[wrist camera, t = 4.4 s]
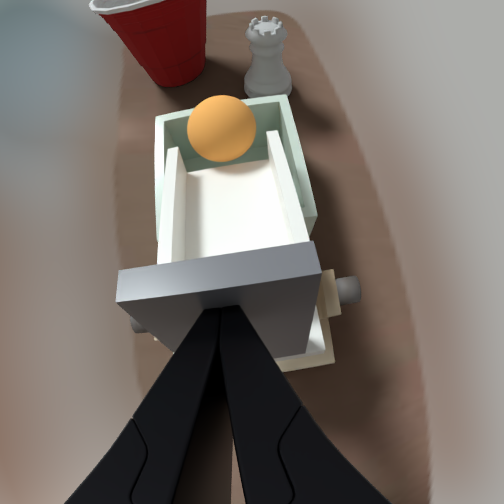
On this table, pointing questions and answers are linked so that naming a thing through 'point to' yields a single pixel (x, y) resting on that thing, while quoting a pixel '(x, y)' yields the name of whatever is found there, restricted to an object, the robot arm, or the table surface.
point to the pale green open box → (267, 119)
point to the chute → (231, 256)
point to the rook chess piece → (267, 59)
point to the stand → (327, 306)
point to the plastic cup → (160, 35)
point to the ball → (221, 128)
